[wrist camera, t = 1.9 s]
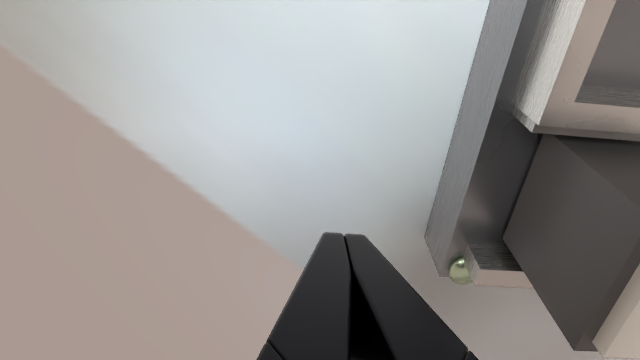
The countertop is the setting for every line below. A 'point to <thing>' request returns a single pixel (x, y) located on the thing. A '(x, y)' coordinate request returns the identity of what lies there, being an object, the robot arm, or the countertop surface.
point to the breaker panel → (529, 119)
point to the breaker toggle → (583, 239)
